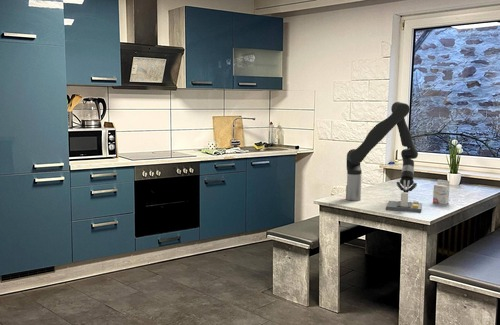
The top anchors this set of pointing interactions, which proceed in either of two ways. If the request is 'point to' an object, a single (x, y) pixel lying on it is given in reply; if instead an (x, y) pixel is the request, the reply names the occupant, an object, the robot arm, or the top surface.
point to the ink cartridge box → (441, 192)
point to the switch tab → (404, 199)
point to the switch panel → (411, 207)
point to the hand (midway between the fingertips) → (405, 195)
